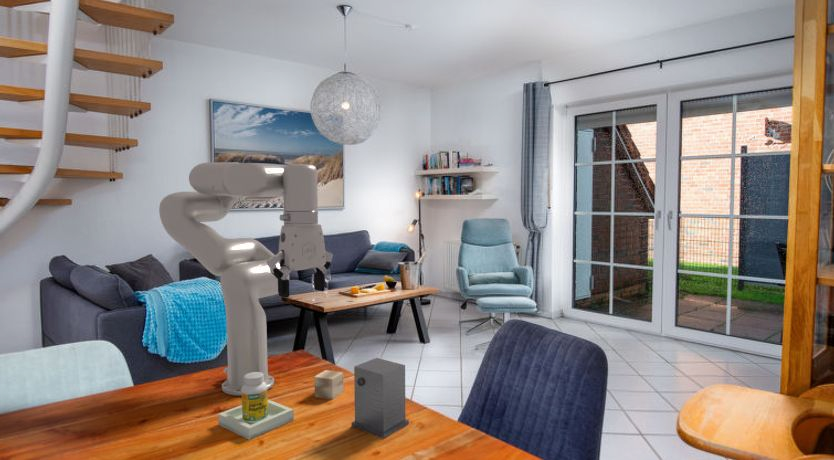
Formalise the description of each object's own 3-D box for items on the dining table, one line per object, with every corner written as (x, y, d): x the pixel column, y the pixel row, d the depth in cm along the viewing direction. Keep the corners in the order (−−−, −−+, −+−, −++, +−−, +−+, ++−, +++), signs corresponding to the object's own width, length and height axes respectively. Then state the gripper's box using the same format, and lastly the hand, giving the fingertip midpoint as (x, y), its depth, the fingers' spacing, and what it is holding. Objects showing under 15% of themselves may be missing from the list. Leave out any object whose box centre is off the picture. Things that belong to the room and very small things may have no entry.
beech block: (314, 396, 122) (314, 376, 122) (326, 389, 127) (325, 369, 127) (332, 400, 120) (332, 379, 120) (343, 392, 125) (343, 372, 125)
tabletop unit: (351, 426, 107) (350, 366, 106) (377, 413, 113) (376, 356, 112) (383, 438, 101) (383, 375, 100) (408, 424, 108) (408, 365, 107)
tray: (218, 424, 107) (218, 413, 107) (262, 407, 116) (262, 397, 116) (249, 440, 101) (249, 428, 101) (293, 420, 110) (293, 409, 109)
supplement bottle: (263, 411, 112) (262, 368, 111) (272, 419, 108) (270, 375, 107) (239, 417, 109) (237, 374, 108) (246, 426, 105) (245, 381, 104)
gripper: (277, 221, 106) (278, 301, 107) (341, 218, 119) (342, 290, 120) (257, 219, 111) (259, 297, 112) (321, 217, 124) (322, 286, 125)
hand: (302, 293), depth 116 cm, fingers open, 9 cm apart
